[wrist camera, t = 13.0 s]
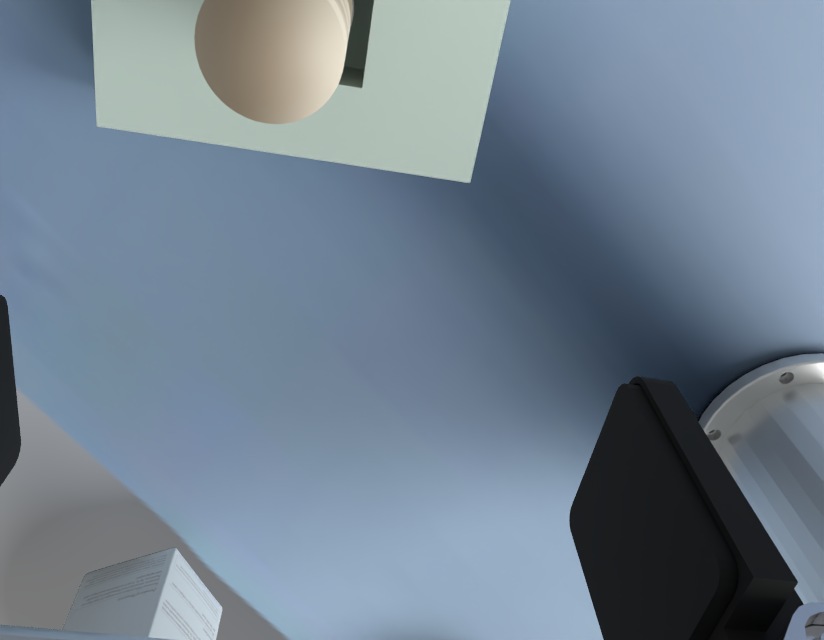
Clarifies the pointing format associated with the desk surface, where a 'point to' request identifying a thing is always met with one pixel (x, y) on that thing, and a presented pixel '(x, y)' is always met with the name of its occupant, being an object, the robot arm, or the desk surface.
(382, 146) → the peg board
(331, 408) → the desk surface
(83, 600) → the supplement box
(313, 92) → the ash peg
